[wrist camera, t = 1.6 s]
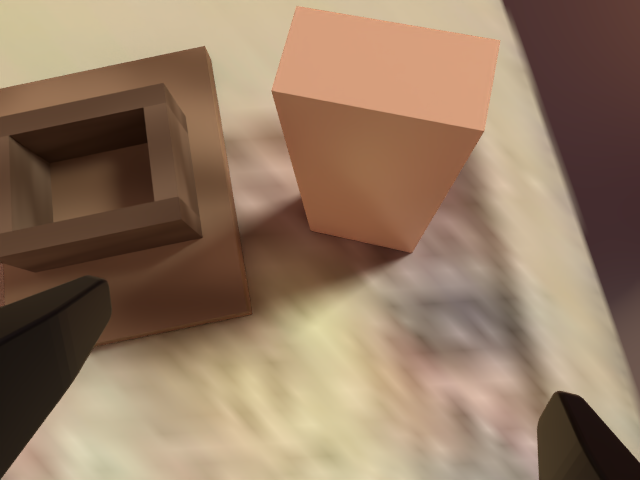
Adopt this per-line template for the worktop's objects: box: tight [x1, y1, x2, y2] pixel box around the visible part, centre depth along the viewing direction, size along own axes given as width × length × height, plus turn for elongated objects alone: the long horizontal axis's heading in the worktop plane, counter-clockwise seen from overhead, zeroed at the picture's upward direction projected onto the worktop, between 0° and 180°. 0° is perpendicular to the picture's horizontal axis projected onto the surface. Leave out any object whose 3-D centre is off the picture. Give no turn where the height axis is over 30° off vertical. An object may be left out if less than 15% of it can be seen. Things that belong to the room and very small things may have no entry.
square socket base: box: [0, 46, 252, 347], centre depth 22 cm, size 14×11×4 cm
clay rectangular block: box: [271, 6, 500, 253], centre depth 17 cm, size 2×5×12 cm, turn 76°
